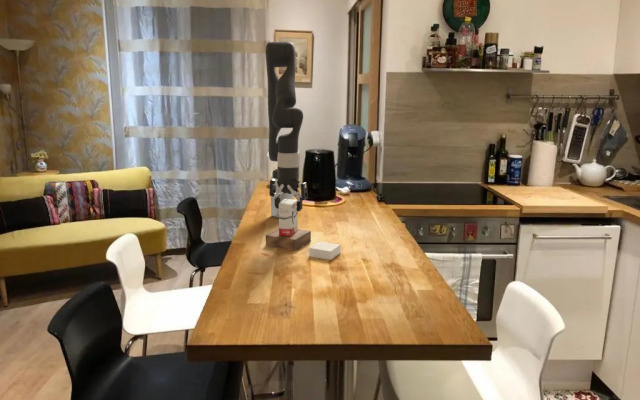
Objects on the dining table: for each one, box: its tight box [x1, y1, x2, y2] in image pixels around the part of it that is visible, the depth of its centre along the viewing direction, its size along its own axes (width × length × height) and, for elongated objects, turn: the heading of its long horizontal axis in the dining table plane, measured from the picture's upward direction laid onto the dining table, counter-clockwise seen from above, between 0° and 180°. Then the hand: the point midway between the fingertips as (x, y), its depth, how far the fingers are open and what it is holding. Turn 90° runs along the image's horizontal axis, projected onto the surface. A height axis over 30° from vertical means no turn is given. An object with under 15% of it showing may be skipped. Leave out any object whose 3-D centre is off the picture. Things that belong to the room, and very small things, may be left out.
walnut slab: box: [265, 228, 312, 251], centre depth 187 cm, size 12×12×4 cm
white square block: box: [308, 241, 342, 261], centre depth 176 cm, size 8×8×3 cm
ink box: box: [278, 199, 299, 236], centre depth 185 cm, size 9×5×12 cm, turn 167°
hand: (288, 209), depth 185 cm, fingers open, 8 cm apart
